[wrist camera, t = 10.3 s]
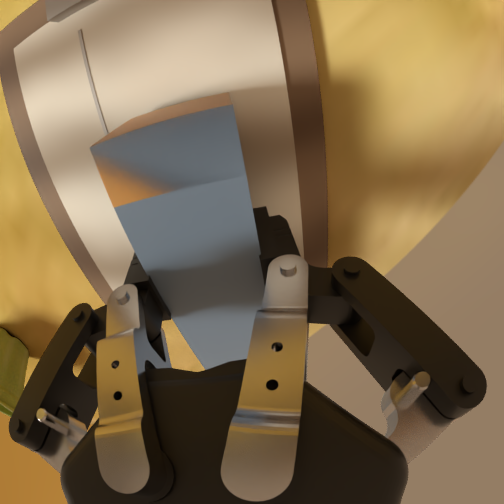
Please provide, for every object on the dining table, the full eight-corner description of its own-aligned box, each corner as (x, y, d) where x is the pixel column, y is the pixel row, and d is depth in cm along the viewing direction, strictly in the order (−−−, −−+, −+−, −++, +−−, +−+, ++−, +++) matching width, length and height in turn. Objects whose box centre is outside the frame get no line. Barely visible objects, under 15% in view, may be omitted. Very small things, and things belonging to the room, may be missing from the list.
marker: (131, 118, 9) (89, 147, 6) (229, 91, 9) (232, 104, 6) (215, 333, 18) (217, 385, 15) (272, 324, 18) (282, 376, 15)
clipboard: (1, 36, 5) (-19, 38, 4) (282, -70, 5) (291, -85, 3) (112, 304, 17) (106, 324, 16) (324, 265, 17) (333, 285, 16)
